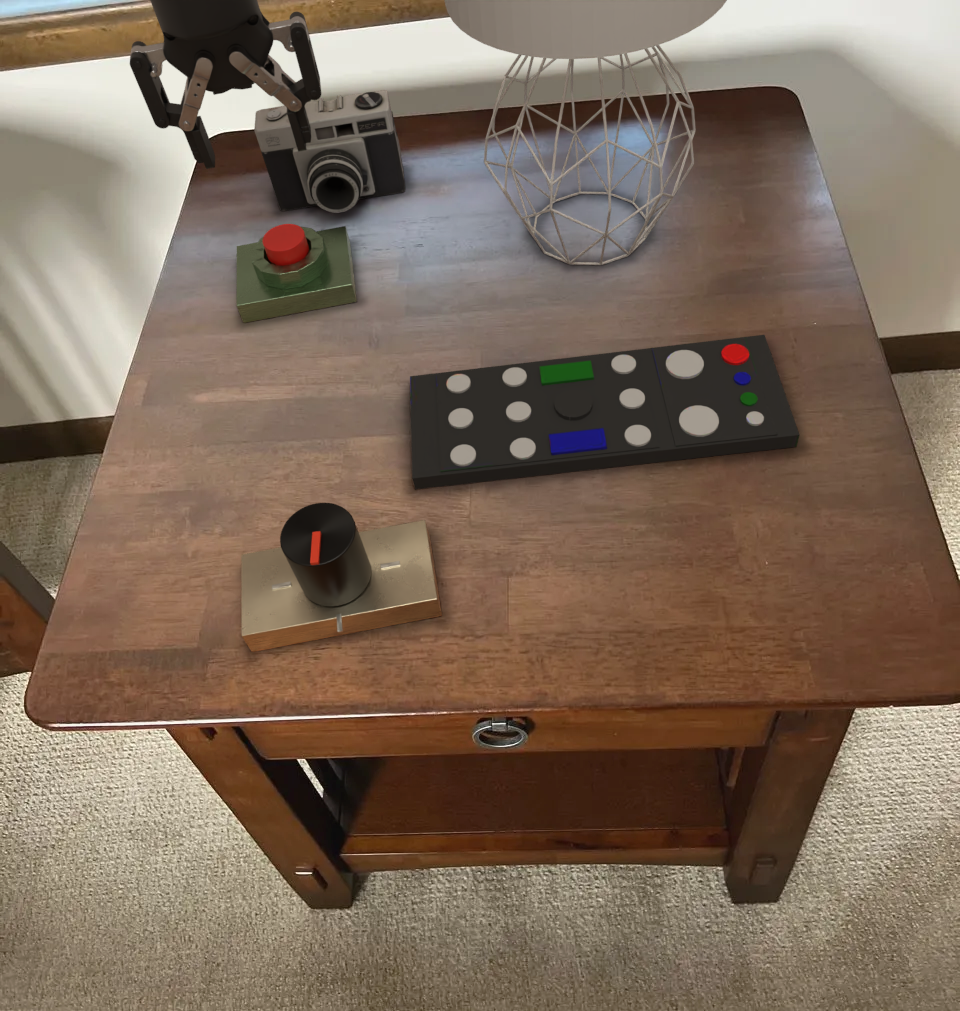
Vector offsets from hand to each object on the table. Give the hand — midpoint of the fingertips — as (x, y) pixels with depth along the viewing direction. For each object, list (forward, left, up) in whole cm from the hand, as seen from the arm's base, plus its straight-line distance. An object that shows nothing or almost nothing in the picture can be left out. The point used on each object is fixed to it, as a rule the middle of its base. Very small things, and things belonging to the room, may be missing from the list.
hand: (256, 154), depth 79 cm
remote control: (+24, -24, -14) cm, 37 cm away
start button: (0, 0, -10) cm, 10 cm away
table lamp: (+29, 0, -14) cm, 32 cm away
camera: (+5, +12, -14) cm, 19 cm away
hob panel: (+2, -37, -14) cm, 39 cm away
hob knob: (+2, -37, -12) cm, 38 cm away
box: (0, 0, -14) cm, 14 cm away
